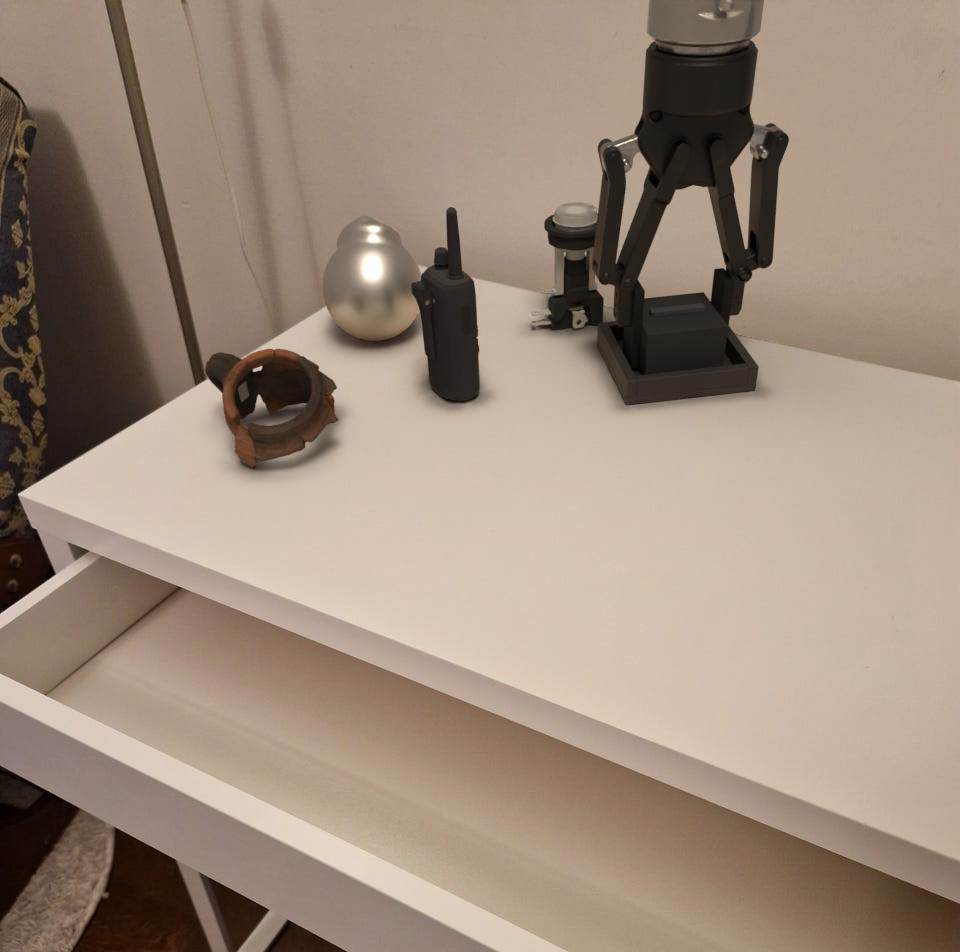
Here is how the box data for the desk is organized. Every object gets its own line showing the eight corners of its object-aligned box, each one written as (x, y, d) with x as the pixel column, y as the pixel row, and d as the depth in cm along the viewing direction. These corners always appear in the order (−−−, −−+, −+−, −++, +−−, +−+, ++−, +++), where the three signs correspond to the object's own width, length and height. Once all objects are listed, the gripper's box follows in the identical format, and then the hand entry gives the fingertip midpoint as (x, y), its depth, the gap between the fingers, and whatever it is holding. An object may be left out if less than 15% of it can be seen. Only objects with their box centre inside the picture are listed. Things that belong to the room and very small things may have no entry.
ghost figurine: (442, 315, 93) (434, 205, 87) (407, 363, 87) (394, 247, 80) (353, 307, 96) (338, 199, 89) (312, 352, 89) (292, 240, 82)
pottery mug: (372, 419, 81) (356, 363, 73) (311, 514, 79) (287, 467, 71) (248, 359, 83) (219, 298, 75) (185, 450, 81) (149, 397, 73)
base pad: (714, 332, 88) (717, 309, 87) (755, 390, 81) (759, 366, 79) (596, 345, 88) (597, 322, 86) (626, 405, 80) (627, 381, 78)
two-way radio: (488, 398, 82) (479, 209, 72) (440, 414, 80) (424, 224, 70) (456, 371, 85) (443, 188, 75) (409, 385, 84) (389, 201, 74)
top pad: (698, 336, 86) (704, 287, 83) (722, 372, 81) (729, 321, 78) (625, 344, 86) (627, 295, 83) (644, 381, 81) (648, 329, 78)
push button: (539, 342, 88) (539, 227, 82) (523, 317, 92) (521, 205, 86) (611, 330, 89) (616, 216, 83) (592, 306, 93) (596, 195, 87)
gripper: (572, 66, 64) (567, 390, 80) (863, 41, 66) (802, 364, 81) (550, 39, 70) (549, 347, 85) (819, 17, 71) (770, 324, 87)
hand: (673, 355), depth 83 cm, fingers closed on top pad, 6 cm apart
